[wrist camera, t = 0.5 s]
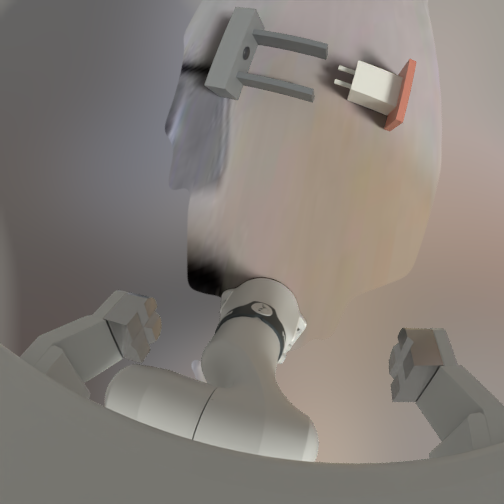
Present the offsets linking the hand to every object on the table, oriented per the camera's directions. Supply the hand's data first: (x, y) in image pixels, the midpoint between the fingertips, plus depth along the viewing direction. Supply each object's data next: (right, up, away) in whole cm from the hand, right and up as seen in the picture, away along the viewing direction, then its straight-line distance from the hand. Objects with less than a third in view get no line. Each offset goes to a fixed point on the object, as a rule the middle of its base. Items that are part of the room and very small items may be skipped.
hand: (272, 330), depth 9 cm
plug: (+21, +32, +35) cm, 52 cm away
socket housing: (+5, +38, +38) cm, 54 cm away
